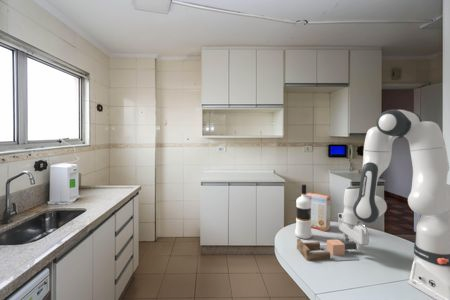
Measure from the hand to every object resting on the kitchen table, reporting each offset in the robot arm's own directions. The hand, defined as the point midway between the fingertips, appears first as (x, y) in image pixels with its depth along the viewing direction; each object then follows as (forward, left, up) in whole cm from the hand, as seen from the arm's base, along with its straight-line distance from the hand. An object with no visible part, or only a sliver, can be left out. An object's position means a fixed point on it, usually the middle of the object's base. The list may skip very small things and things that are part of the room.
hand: (352, 246), depth 126 cm
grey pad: (0, +8, -3) cm, 8 cm away
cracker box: (+33, +3, -3) cm, 33 cm away
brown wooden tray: (0, +20, -3) cm, 20 cm away
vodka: (+21, +17, -3) cm, 27 cm away
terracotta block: (0, +5, -3) cm, 6 cm away
